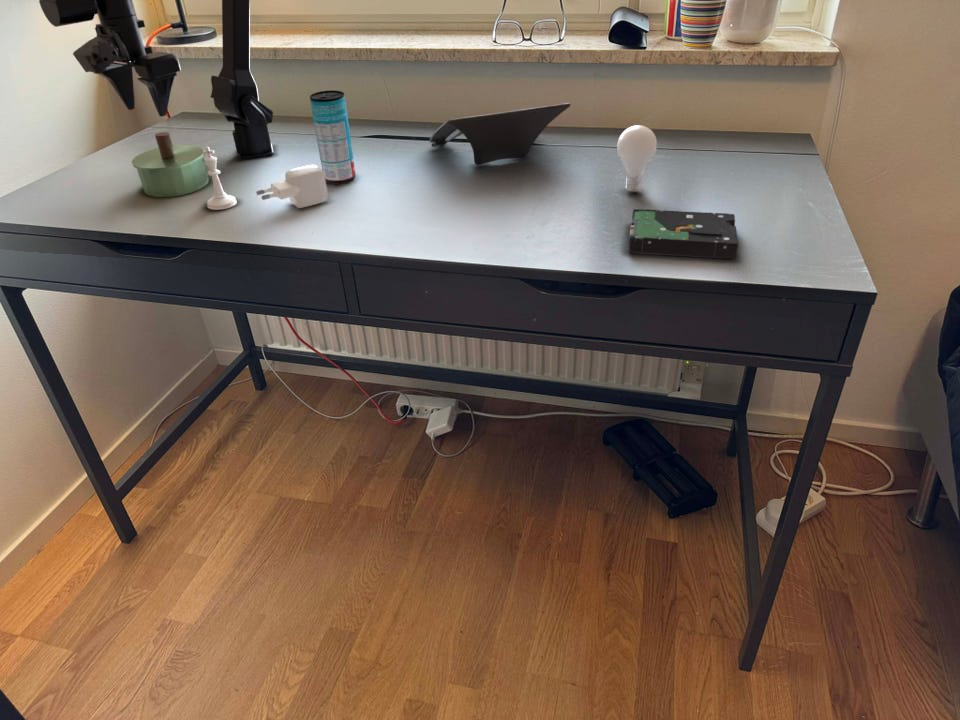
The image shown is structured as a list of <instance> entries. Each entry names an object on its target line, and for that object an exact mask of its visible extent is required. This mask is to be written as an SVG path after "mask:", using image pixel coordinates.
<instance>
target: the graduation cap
mask: <svg viewBox="0 0 960 720" xmlns="http://www.w3.org/2000/svg"><path fill="white" fill-rule="evenodd" d="M570 107H571V102H568V103H560V104H554V105H553V104H551V105H545V106H539V107H538V106H537V107H531V108H523V109H516V110H510V111H503V112H494V113H487V114H480V115H474V116H467V117H466V116H465V117H458V118H452V119H447V120H446V121H445V122H444V123H442V125H440V126H439V127H438V128H437V129H436V130H435V131H434V132H433V133H432V134H431V136H430V138H429V143H430V145H431V148H438V147H443V146H445V145H447V144H448V143H449V142H450V141H451V140H454V139H456V138H458V137H459V136H461V135H462V134H463V135H464V137H465V138H466V140H467V141H468V142H469V143H470V144H469V145H470V146H471V148H472V153H473V162H474V164H475V165H476V166H481V165H485V164H488V163H491V162H492V163H493V162H495V161H501V160H512V159H516V160H517V159H524V158H526V157H527V156H528V155H529V152H530V151H531V149H532V146H533V145H534V143H535V142H536V140H537V138H538V137H539V136H540V135H541V133H542V132H543V131H544V130H545V129H546V128H547V127H548V125H550V123H552V122H553V121H554V120H555V119H557V117H559V116H560V115H561V114H562V113H564V111H566V110H567V109H569V108H570Z"/></svg>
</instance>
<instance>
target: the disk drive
mask: <svg viewBox="0 0 960 720" xmlns="http://www.w3.org/2000/svg"><path fill="white" fill-rule="evenodd" d="M738 246H739V240H738V232H737V226H736V216H735V213H726V212H725V213H723V212H715V213H714V212H700V211H683V210H666V209H664V210H660V209H649V208H648V209H647V208H646V209H642V208H633V210H632V215H631V220H630V229H629V236H628V246H627V251H628V252H629V253H630V252H632V253H633V254H648V255H662V256H663V255H664V256H678V257H679V256H681V257H694V258H696V257H697V258H709V259H710V258H711V259H731V258H732V259H736V257H737V253H738Z"/></svg>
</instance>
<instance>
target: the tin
mask: <svg viewBox="0 0 960 720" xmlns="http://www.w3.org/2000/svg"><path fill="white" fill-rule="evenodd" d="M204 159H205V158H204V157H203V158H202V159H200V160H199V161H197V162H195V163H193V164H190V165H187V166H184V167H180V168H175V169H170V170H162V171H145V170H140V169H137V168H136V171H137V173H138V177H139V179H140V184H141V186H142V189H143V192H144V193H145V194H146V195H148V196H150V197H155V198H173V197H179V196H185V195H188V194H191V193H195V192H197V191H200V190H202V189H203V188H205V187H206V186H207V185H208V184H209V182H210V180H209V179H210V178H209V175H208V170H207V165H206V163H205V161H204Z"/></svg>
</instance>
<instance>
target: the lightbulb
mask: <svg viewBox="0 0 960 720" xmlns="http://www.w3.org/2000/svg"><path fill="white" fill-rule="evenodd" d="M657 150H658V140H657V137H656V134H655V133H654V132H653V130H652V129H651V128H649V127H648V126H646V125H642V124H641V125H639V124H637V125H632V126H629V127H628V128H626V129H624V131H623V132H622V133H621V134H620V136H619V137H618V140H617V144H616V151H617V154H618V157H619V158H620V160H621V162H622V163H623V166H624V172H625V177H626V179H625V190H627V191H628V192H630V193H637V192H639V191H641V190H642V189H643V188H642V187H643V177H644V174H645V172H646V169H647V166H648V164H649V163H650V162H651V160H652V159H653V158H654V157H655V155H656V152H657Z"/></svg>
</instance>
